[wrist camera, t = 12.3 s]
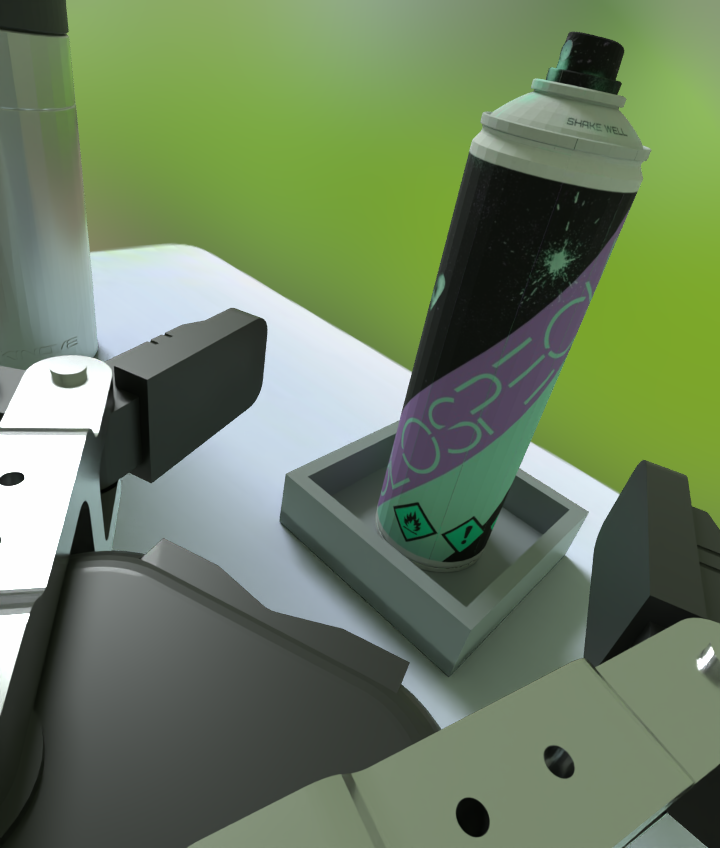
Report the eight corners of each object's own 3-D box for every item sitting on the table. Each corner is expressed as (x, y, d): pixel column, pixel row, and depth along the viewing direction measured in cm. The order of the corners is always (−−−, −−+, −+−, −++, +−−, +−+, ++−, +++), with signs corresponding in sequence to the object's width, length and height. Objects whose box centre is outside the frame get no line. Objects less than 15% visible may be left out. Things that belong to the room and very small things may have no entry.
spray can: (351, 518, 27) (467, 8, 16) (422, 478, 30) (558, 39, 19) (438, 593, 24) (655, 33, 13) (505, 539, 27) (720, 64, 16)
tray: (279, 521, 27) (285, 473, 25) (412, 449, 34) (424, 408, 32) (448, 676, 22) (470, 630, 20) (565, 554, 29) (589, 512, 27)
